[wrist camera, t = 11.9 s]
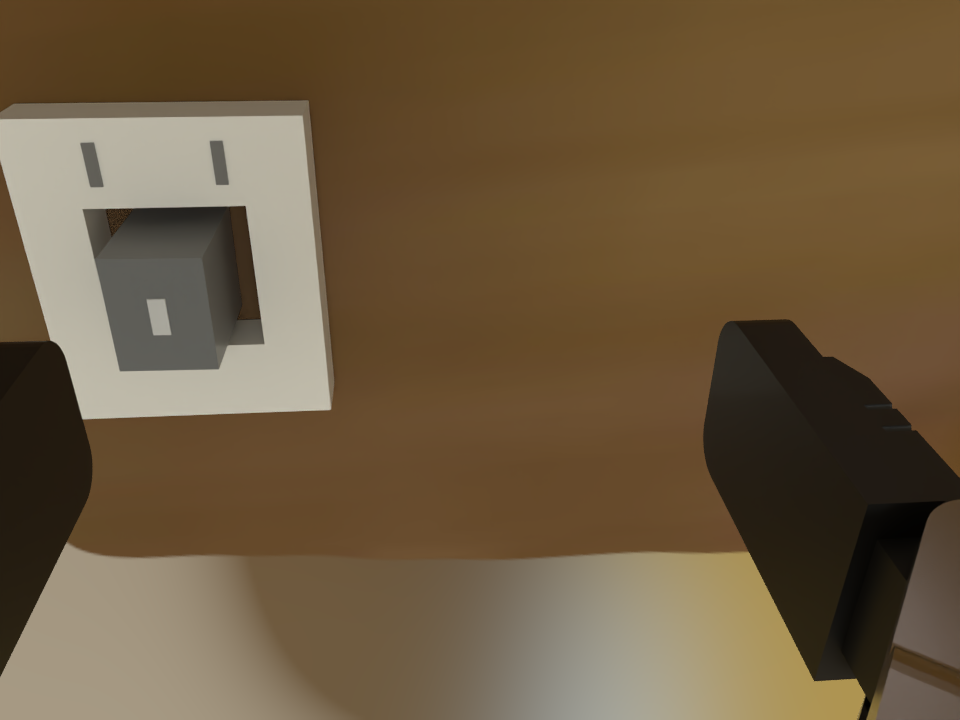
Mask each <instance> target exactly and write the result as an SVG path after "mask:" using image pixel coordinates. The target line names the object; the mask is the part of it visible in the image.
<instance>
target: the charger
mask: <svg viewBox="0 0 960 720" xmlns="http://www.w3.org/2000/svg"><path fill="white" fill-rule="evenodd" d="M95 262H96V267H97V271H98V276H99V280H100V285H101V289H102V294H103V298H104V303H105V307H106V312H107V316H108V321H109V325H110V330H111V334H112V339H113V343H114V348H115V352H116V357H117V361H118V366H119V370H120V371H165V370H211V369H219V368H220V365H221V362H222V360H223V357H224V354H225V351H226V348H227V346H228V343H229V340H230V337H231V335H232V332H233V329H234V326H235V323H236V321H237V318H238V315H239V312H240V309H241V307H242V301H241V293H240V285H239V278H238V270H237V263H236V255H235V248H234V240H233V232H232V225H231V217H230V210H229V206H217V207H167V208H134V209H133V211H132V212H131V213H130V214H129V216H128V217H127V218H126V220H125V221H124V222H123V223H122V225H121V226H120V227H119V229H118V230H117V231H116V233H115V234H114V235H113V236H112V238H111V239H110V240H109V242H108V243H107V244H106V246H105V247H104V248H103V249H102V251H101V252H100V253H99V255H98V256H97V257H96V259H95Z"/></svg>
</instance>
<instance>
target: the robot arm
mask: <svg viewBox="0 0 960 720" xmlns="http://www.w3.org/2000/svg"><path fill="white" fill-rule="evenodd" d="M703 442H704V453H705V459H706V464H707V467H708V470H709V473H710V475H711V478H712V480H713V482H714V484H715V485H716V487H717V489H718V491H719V493H720V495H721V497H722V499H723V501H724V503H725V505H726V507H727V509H728V511H729V513H730V515H731V517H732V519H733V521H734V523H735V525H736V527H737V529H738V531H739V533H740V535H741V537H742V539H743V541H744V543H745V545H746V547H747V549H748V551H749V553H750V555H751V557H752V559H753V561H754V563H755V565H756V567H757V569H758V570H759V573H760V575H761V577H762V579H763V580H764V583H765V585H766V586H767V588H768V590H769V592H770V594H771V596H772V598H773V600H774V602H775V604H776V606H777V608H778V610H779V612H780V614H781V616H782V618H783V620H784V622H785V624H786V626H787V628H788V630H789V632H790V634H791V636H792V638H793V640H794V642H795V644H796V646H797V648H798V650H799V652H800V654H801V656H802V658H803V660H804V662H805V664H806V666H807V668H808V669H809V672H810V674H811V676H812V678H813V680H814V681H825V680H841V679H857V680H858V682H859V684H860V686H861V687H862V689H863V691H864V693H865V698H864V701H863V703H862V706H861V709H860V712H859V715H858V718H857V720H960V478H959V477H958V476H957V475H956V474H955V473H954V471H953V470H952V469H951V468H950V467H949V466H948V465H947V464H946V463H945V461H944V460H943V459H942V458H941V457H940V456H939V455H938V454H937V453H936V452H935V450H934V449H933V448H932V447H931V446H930V445H929V444H928V443H927V442H926V441H925V439H924V438H923V437H922V436H921V435H920V434H919V433H918V432H917V431H916V430H915V431H912V430H911V424H910V423H909V422H908V421H907V420H906V418H905V417H904V416H903V415H902V414H901V413H900V412H899V411H898V410H897V409H892V403H891V402H890V401H889V400H888V399H887V398H886V396H885V395H884V394H883V393H882V392H881V391H880V390H879V389H878V388H877V387H876V385H875V384H874V383H873V382H872V381H871V380H870V379H869V378H868V377H866V376H864V375H863V374H861V373H859V372H858V371H856V370H854V369H853V368H851V367H849V366H848V365H846V364H844V363H842V362H841V361H839V360H837V359H836V358H834V357H822V355H821V354H820V353H819V352H818V351H817V349H816V348H815V347H814V346H813V345H812V344H811V342H810V341H809V340H808V339H807V338H806V337H805V335H804V334H803V333H802V332H801V331H800V330H799V328H798V327H797V326H796V325H795V324H794V323H793V322H792V321H790V320H786V319H784V320H752V321H729V322H727V323H726V324H725V325H724V327H723V328H722V331H721V333H720V336H719V341H718V346H717V352H716V358H715V364H714V370H713V376H712V382H711V388H710V393H709V399H708V405H707V411H706V417H705V423H704V434H703ZM91 482H92V455H91V449H90V445H89V441H88V438H87V434H86V430H85V427H84V423H83V419H82V416H81V412H80V409H79V405H78V401H77V398H76V394H75V390H74V387H73V383H72V379H71V376H70V372H69V368H68V365H67V361H66V358H65V356H64V353H63V351H62V350H61V348H60V347H59V345H58V344H57V343H55V342H53V341H27V342H0V676H1V674H2V672H3V670H4V668H5V666H6V664H7V662H8V660H9V658H10V656H11V653H12V652H13V650H14V648H15V646H16V644H17V642H18V640H19V638H20V636H21V634H22V631H23V630H24V627H25V625H26V623H27V621H28V619H29V617H30V615H31V613H32V611H33V609H34V607H35V605H36V603H37V601H38V599H39V597H40V595H41V593H42V591H43V589H44V587H45V585H46V583H47V581H48V578H49V577H50V575H51V573H52V571H53V568H54V566H55V564H56V562H57V560H58V558H59V556H60V554H61V552H62V550H63V548H64V546H65V544H66V542H67V540H68V538H69V536H70V534H71V532H72V530H73V528H74V526H75V524H76V522H77V520H78V518H79V516H80V514H81V512H82V509H83V507H84V505H85V503H86V501H87V499H88V496H89V493H90V488H91Z"/></svg>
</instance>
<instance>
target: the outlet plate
mask: <svg viewBox="0 0 960 720" xmlns="http://www.w3.org/2000/svg"><path fill="white" fill-rule="evenodd" d="M0 161H1V165H2V168H3V172H4V176H5V179H6V183H7V186H8V190H9V193H10V197H11V201H12V204H13V208H14V211H15V215H16V218H17V222H18V226H19V229H20V233H21V236H22V240H23V243H24V247H25V251H26V254H27V258H28V261H29V265H30V268H31V272H32V275H33V279H34V283H35V286H36V290H37V293H38V297H39V300H40V304H41V308H42V311H43V315H44V318H45V322H46V325H47V329H48V333H49V336H50V340H51V341H53V342H55V343H57V344H58V345H59V347H60V348H61V350H62V351H63V353H64V356H65V358H66V361H67V365H68V368H69V372H70V376H71V379H72V383H73V387H74V390H75V394H76V398H77V401H78V405H79V409H80V412H81V416H82V419H100V418H127V417H153V416H180V415H207V414H233V413H260V412H286V411H313V410H331V406H332V398H333V390H334V372H333V361H332V350H331V339H330V329H329V318H328V307H327V296H326V285H325V274H324V263H323V252H322V241H321V231H320V220H319V209H318V198H317V187H316V176H315V165H314V154H313V143H312V133H311V122H310V111H309V100H301V101H212V102H124V103H35V104H13V105H11V106H10V107H8V108H6V109H5V110H3V111H2V112H0ZM217 206H246V212H247V219H248V226H249V234H250V241H251V248H252V256H253V263H254V270H255V278H256V285H257V292H258V300H259V307H260V314H261V319H254V320H237V321H236V323H235V326H234V329H233V332H232V335H231V337H230V340H229V343H228V346H227V348H226V351H225V354H224V357H223V360H222V362H221V365H220V368H219V369H211V370H165V371H120V370H119V366H118V361H117V357H116V352H115V348H114V343H113V339H112V334H111V330H110V325H109V321H108V316H107V312H106V307H105V303H104V298H103V294H102V289H101V285H100V280H99V276H98V271H97V267H96V262H95V259H96V257H97V256H98V255H99V253H100V252H101V251H102V249H103V248H104V247H105V246H106V244H107V243H108V242H109V240H110V239H111V238H112V237H111V232H110V228H109V223H108V219H107V215H106V210H105V209H118V208H167V207H217Z"/></svg>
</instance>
